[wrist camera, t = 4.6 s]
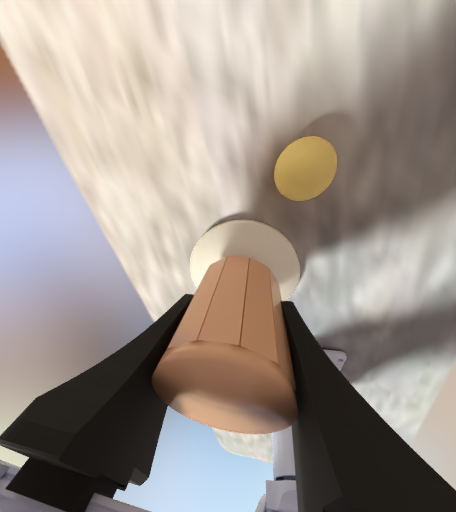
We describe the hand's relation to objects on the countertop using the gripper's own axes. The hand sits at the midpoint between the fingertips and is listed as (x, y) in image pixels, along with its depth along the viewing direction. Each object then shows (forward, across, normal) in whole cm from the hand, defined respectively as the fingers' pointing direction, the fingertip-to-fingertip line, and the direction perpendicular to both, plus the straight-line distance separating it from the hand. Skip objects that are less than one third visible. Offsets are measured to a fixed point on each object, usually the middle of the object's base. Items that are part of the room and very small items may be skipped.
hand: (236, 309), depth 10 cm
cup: (+2, 0, 0) cm, 2 cm away
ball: (+4, -4, -8) cm, 9 cm away
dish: (+4, 0, 0) cm, 4 cm away
